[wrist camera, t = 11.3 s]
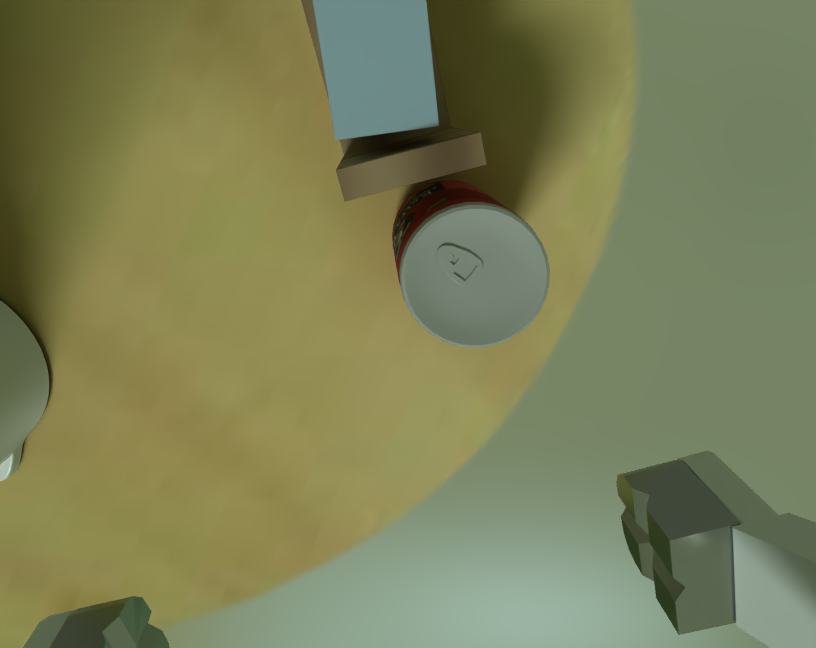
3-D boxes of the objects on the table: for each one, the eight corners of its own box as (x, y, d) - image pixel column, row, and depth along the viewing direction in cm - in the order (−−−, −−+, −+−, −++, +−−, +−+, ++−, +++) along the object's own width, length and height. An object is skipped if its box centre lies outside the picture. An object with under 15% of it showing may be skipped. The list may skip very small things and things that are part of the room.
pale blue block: (300, -114, 28) (284, -171, 22) (399, -127, 28) (407, -187, 23) (341, 135, 32) (335, 140, 27) (426, 124, 32) (439, 126, 27)
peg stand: (351, 177, 37) (344, 201, 27) (267, -128, 31) (217, -249, 21) (453, 150, 37) (486, 164, 27) (388, -162, 31) (399, -300, 21)
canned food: (415, 161, 37) (433, 179, 27) (522, 205, 39) (578, 238, 28) (374, 266, 39) (376, 319, 29) (476, 304, 41) (513, 367, 31)
